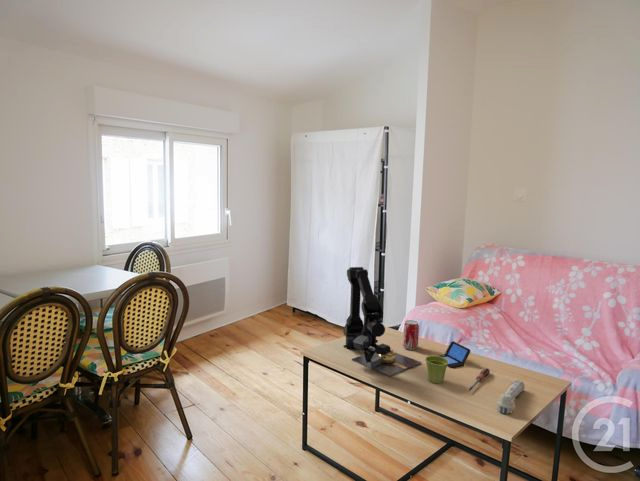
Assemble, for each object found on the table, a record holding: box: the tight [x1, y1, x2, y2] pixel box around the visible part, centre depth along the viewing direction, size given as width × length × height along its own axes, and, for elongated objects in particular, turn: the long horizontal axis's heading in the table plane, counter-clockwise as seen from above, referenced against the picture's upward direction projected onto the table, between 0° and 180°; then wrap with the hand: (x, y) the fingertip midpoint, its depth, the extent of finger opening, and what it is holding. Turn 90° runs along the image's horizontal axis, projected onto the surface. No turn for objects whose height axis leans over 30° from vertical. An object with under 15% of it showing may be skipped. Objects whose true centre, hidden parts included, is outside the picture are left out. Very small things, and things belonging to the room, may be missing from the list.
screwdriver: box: [467, 368, 490, 392], centre depth 179 cm, size 25×3×3 cm, turn 143°
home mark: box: [393, 363, 407, 369], centre depth 192 cm, size 6×2×1 cm, turn 42°
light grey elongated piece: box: [496, 379, 525, 415], centre depth 164 cm, size 5×7×25 cm
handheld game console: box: [438, 340, 471, 369], centre depth 200 cm, size 12×11×7 cm
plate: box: [351, 352, 423, 377], centre depth 198 cm, size 22×22×1 cm
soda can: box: [402, 319, 420, 351], centre depth 215 cm, size 7×7×13 cm
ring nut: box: [366, 348, 397, 369], centre depth 194 cm, size 17×8×4 cm, turn 137°
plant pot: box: [424, 355, 449, 384], centre depth 179 cm, size 9×9×9 cm
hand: (367, 363), depth 190 cm, fingers closed
